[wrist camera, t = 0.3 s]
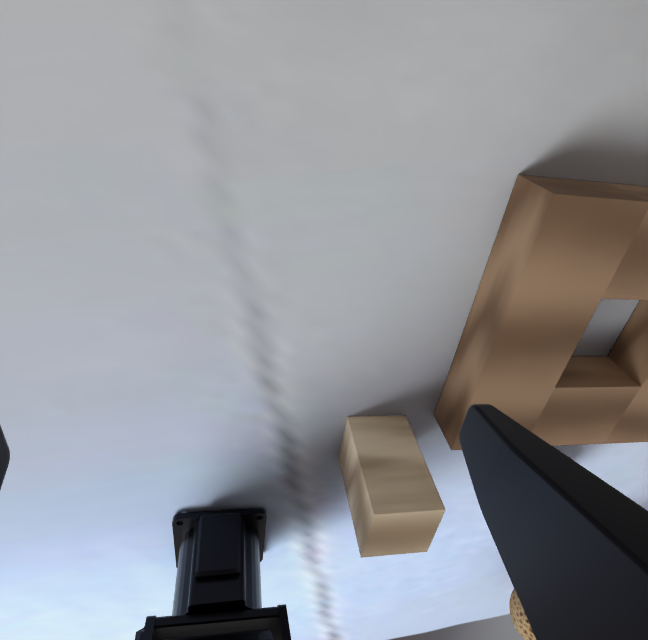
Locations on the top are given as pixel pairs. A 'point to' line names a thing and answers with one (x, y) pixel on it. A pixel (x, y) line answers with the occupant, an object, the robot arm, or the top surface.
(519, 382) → the hole block
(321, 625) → the top surface
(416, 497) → the tan cardboard cuboid
